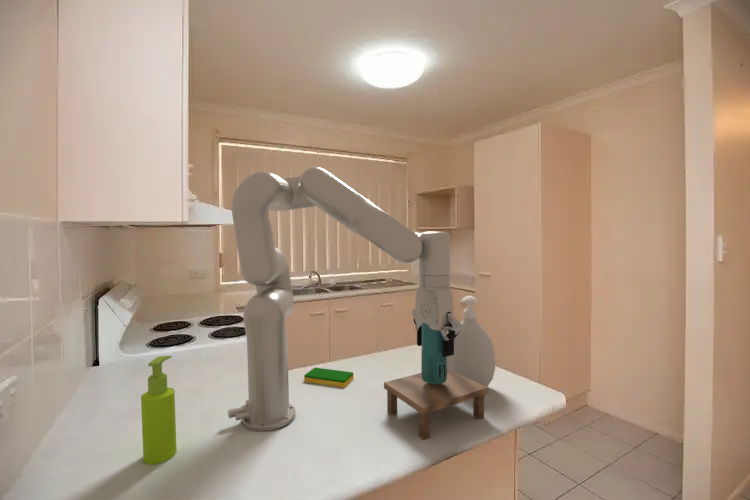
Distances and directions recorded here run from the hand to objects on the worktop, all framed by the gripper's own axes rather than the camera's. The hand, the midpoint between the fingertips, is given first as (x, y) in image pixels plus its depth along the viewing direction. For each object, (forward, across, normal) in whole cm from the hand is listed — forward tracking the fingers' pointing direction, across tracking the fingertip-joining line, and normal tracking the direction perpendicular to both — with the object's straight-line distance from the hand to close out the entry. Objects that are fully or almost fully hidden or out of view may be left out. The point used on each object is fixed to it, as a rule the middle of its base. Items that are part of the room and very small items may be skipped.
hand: (434, 350), depth 90 cm
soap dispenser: (+16, -17, -59) cm, 64 cm away
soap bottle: (+16, -8, +20) cm, 27 cm away
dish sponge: (+17, -34, -14) cm, 41 cm away
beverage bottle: (+9, 0, 0) cm, 9 cm away
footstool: (+16, 0, 0) cm, 16 cm away
